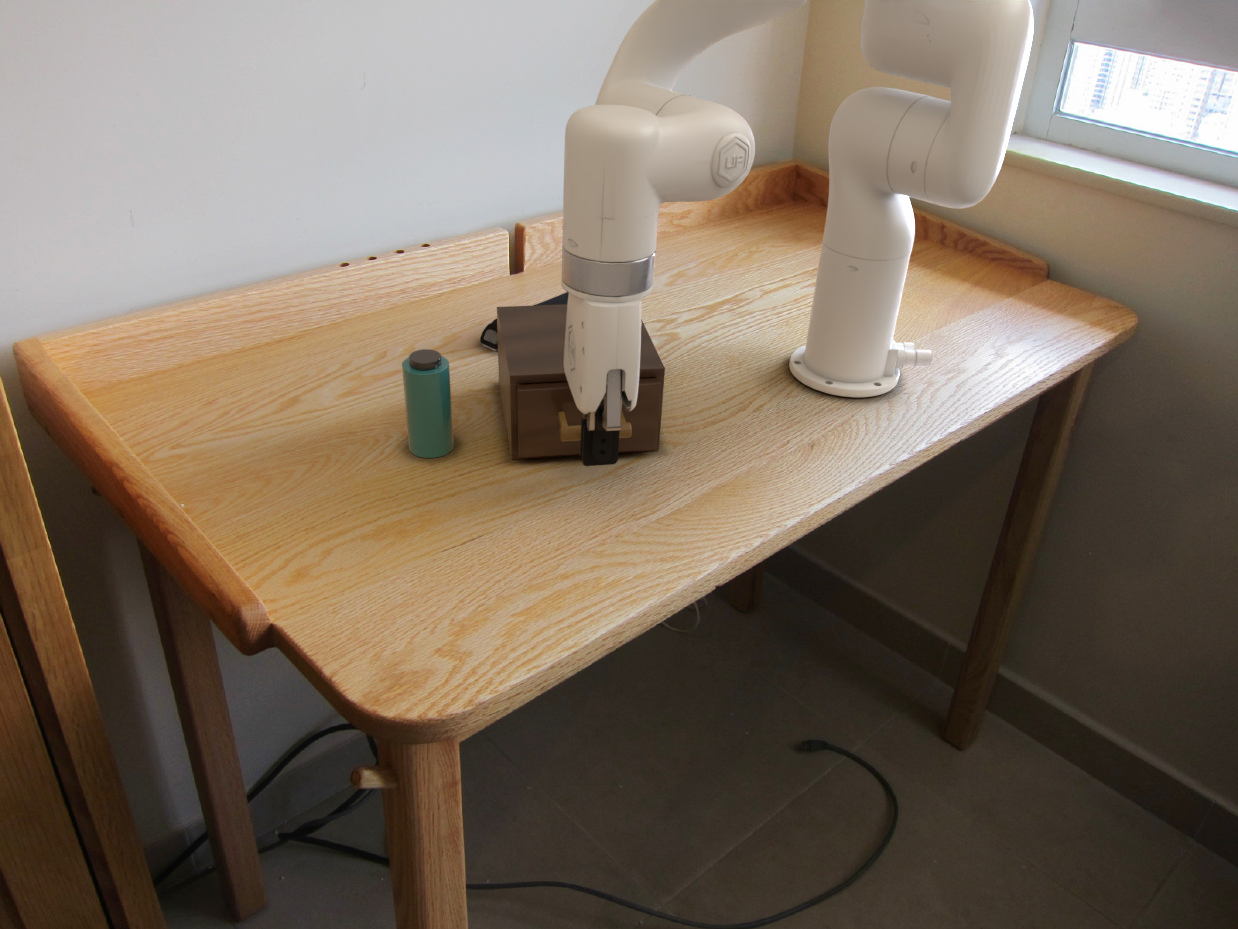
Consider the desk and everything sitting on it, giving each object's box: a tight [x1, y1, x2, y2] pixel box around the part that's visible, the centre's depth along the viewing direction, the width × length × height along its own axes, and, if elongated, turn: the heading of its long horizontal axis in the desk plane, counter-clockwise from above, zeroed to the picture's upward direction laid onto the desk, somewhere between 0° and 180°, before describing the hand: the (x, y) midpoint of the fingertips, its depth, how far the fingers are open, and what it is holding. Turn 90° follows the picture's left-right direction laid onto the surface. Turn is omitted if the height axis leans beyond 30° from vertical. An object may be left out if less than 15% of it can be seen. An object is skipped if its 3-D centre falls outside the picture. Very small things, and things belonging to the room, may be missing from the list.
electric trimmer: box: [479, 291, 569, 352], centre depth 121 cm, size 4×16×3 cm, turn 141°
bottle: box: [401, 348, 455, 459], centre depth 95 cm, size 4×4×10 cm
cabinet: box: [496, 304, 666, 460], centre depth 101 cm, size 16×15×9 cm
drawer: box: [517, 377, 661, 458], centre depth 98 cm, size 19×14×7 cm
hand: (598, 460), depth 89 cm, fingers closed
